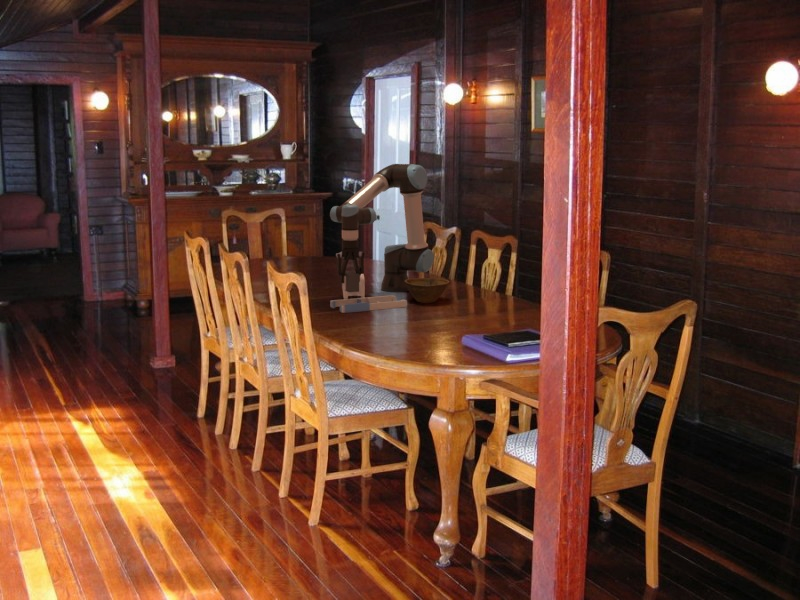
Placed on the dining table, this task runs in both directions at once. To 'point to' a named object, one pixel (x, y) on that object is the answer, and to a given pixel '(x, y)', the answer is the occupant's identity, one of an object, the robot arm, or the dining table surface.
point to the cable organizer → (361, 289)
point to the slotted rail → (368, 303)
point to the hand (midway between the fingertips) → (350, 289)
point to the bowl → (426, 288)
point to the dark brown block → (352, 282)
